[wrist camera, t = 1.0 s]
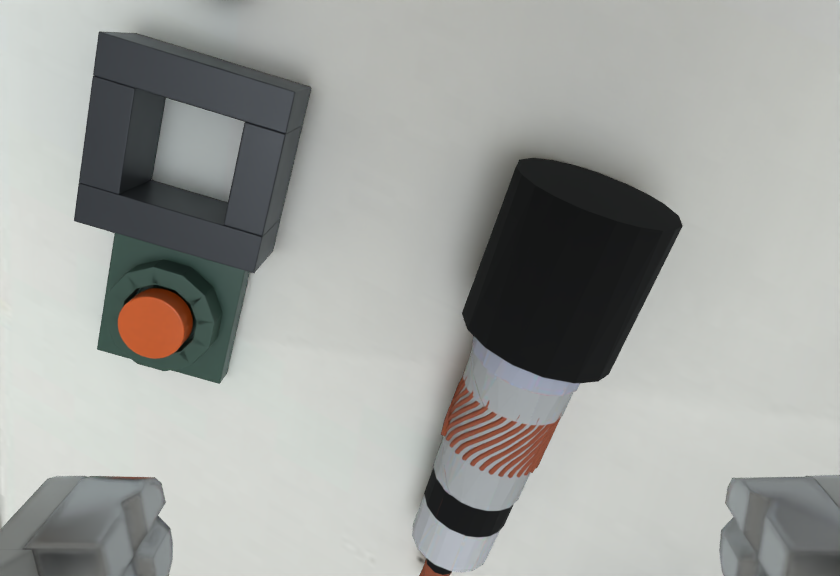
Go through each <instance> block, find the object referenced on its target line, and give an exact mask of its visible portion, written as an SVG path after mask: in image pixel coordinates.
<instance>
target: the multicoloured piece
mask: <svg viewBox="0 0 840 576" xmlns="http://www.w3.org/2000/svg"><path fill="white" fill-rule="evenodd" d="M682 226H683V225H682V223H681V220H680V218H679V216H678V215H677V214H676V213H674V212H673V211H672V210H671V209H670V208H668V207H667V206H666V205H665V204H663V203H662V202H660V201H658V200H656V199H655V198H653V197H651V196H650V195H648V194H646V193H644V192H642V191H640V190H638V189H636V188H634V187H632V186H630V185H628V184H625V183H623V182H620V181H618V180H615V179H613V178H610V177H608V176H605V175H603V174H600V173H598V172H594V171H591V170H588V169H584V168H581V167H578V166H575V165H571V164H568V163H563V162H558V161H554V160H547V159H539V158H529V159H521V160H519V162H518V164H517V166H516V168H515V171H514V174H513V176H512V179H511V182H510V185H509V187H508V190H507V193H506V195H505V198H504V201H503V204H502V206H501V209H500V212H499V214H498V217H497V220H496V223H495V225H494V228H493V231H492V233H491V236H490V239H489V242H488V244H487V247H486V250H485V252H484V255H483V258H482V260H481V263H480V266H479V269H478V271H477V274H476V277H475V279H474V282H473V285H472V288H471V290H470V293H469V296H468V298H467V301H466V304H465V307H464V309H463V312H462V315H463V318H464V321H465V323H466V326H467V329H468V330H469V331H470V333H471V334H472V335H473V336H474V338H473V348H472V351H471V355H470V358H469V360H468V363H467V366H466V369H465V371H464V374H463V377H462V379H461V381H460V382H459V384H458V387H457V389H456V392H455V394H454V397H453V400H452V402H451V405H450V407H449V409H448V412H447V414H446V417H445V420H444V424H443V428H442V432H441V435H443V436H444V437H443V440H442V443H441V445H440V448H439V451H438V453H437V456H436V459H435V462H434V465H433V466H434V468H433V471H432V473H431V476H430V479H429V481H428V484H427V487H426V490H425V493H424V497H423V500H422V502H421V505H420V507H419V510H418V512H417V515H416V518H415V520H414V523H413V533H412V536H413V538H414V541H415V543H416V546H417V548H418V549H419V551H420V552H421V553H422V554H423V555H424V556H425V557H426V560H425V564H424V566H423V569H422V571H421V573H420V575H419V576H449V575H450V574H451V572H452V571H455V572H467V571H473V570H475V569H476V568H478V567H479V566H481V565H483V563H484V562H485V560H486V558H487V556H488V554H489V552H490V550H491V548H492V546H493V543H494V541H495V539H496V537H497V535H498V533H499V531H500V529H501V528H502V527H503V526H504V524H505V522H506V520H507V518H508V515H509V513H510V511H511V509H512V507H513V504H514V503H515V502H516V501H517V500H518V499H519V497H520V494H521V492H522V490H523V488H524V485H525V483H526V481H527V479H528V477H529V474H530V472H531V473H533V471H534V469H535V468H537V467H538V465H539V463H540V461H541V459H542V456H543V454H544V452H545V450H546V448H547V446H548V444H549V441H550V439H551V437H552V435H553V433H554V431H555V429H556V426H557V424H558V422H559V420H560V418H561V416H563V414H564V411H565V409H566V407H567V405H568V402H569V400H570V398H571V396H572V394H573V392H575V391H576V390H577V388H578V386H579V384H580V383H586V382H596V381H599V380H601V379H602V378H604V377H605V376H607V375H608V374H609V373H610V371H611V369H612V367H613V365H614V363H615V361H616V359H617V357H618V355H619V353H620V351H621V348H622V346H623V344H624V342H625V340H626V338H627V336H628V334H629V332H630V330H631V328H632V326H633V324H634V322H635V320H636V318H637V316H638V314H639V312H640V310H641V308H642V306H643V304H644V302H645V300H646V298H647V296H648V294H649V292H650V290H651V288H652V286H653V284H654V282H655V280H656V278H657V276H658V274H659V272H660V270H661V268H662V266H663V264H664V262H665V260H666V258H667V256H668V254H669V252H670V250H671V248H672V246H673V244H674V242H675V240H676V238H677V236H678V234H679V232H680V230H681V228H682Z"/></svg>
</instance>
